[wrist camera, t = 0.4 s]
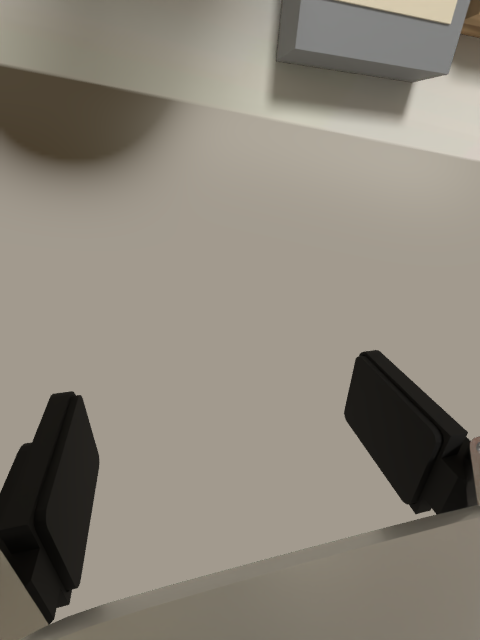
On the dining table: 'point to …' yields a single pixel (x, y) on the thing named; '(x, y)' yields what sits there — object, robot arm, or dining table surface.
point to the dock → (372, 36)
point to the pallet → (472, 20)
